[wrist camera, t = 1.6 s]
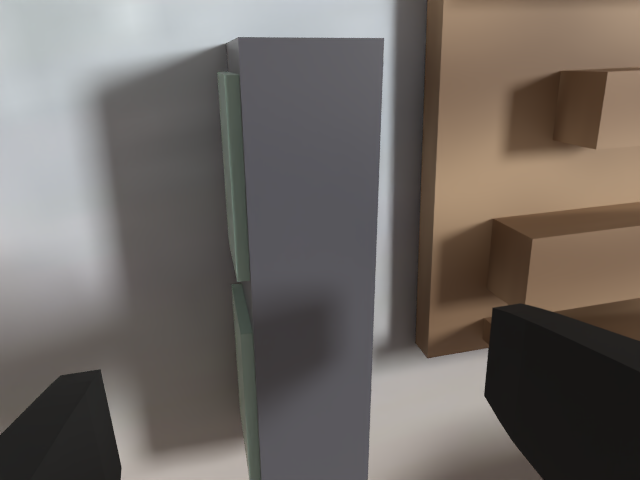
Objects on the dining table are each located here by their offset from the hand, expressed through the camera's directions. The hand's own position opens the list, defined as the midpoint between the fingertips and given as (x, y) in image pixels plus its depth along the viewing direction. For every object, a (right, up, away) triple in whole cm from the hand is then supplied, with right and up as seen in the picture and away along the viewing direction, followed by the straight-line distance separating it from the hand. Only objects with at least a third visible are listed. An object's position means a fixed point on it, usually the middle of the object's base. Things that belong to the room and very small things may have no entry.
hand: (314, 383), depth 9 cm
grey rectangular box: (-1, +2, +7) cm, 7 cm away
